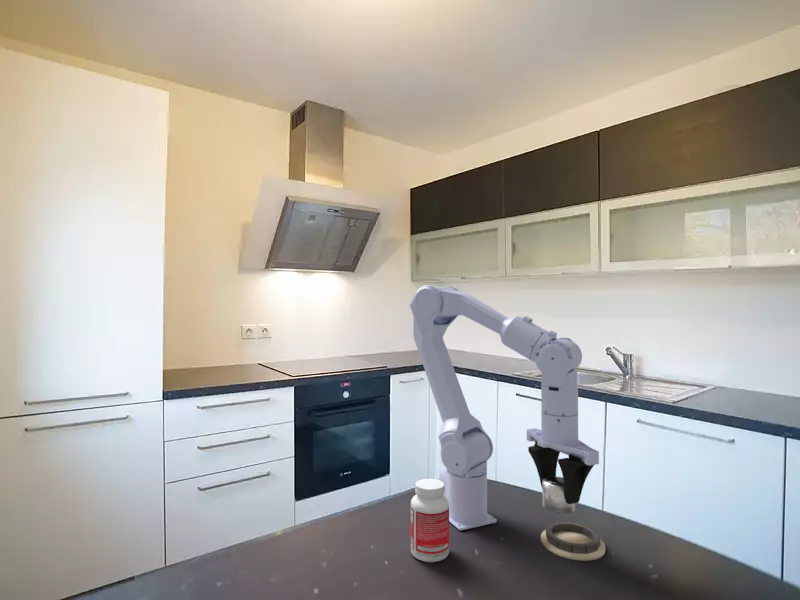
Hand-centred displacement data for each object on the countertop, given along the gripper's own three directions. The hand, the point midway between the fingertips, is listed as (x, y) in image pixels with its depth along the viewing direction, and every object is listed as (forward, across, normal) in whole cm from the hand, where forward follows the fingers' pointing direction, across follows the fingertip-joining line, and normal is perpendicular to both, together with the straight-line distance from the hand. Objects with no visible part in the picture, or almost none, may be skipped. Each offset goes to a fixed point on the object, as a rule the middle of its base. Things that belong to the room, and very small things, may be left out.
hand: (560, 495), depth 75 cm
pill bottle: (+9, -7, -20) cm, 23 cm away
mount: (+8, 0, +3) cm, 9 cm away
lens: (+2, 0, 0) cm, 2 cm away
